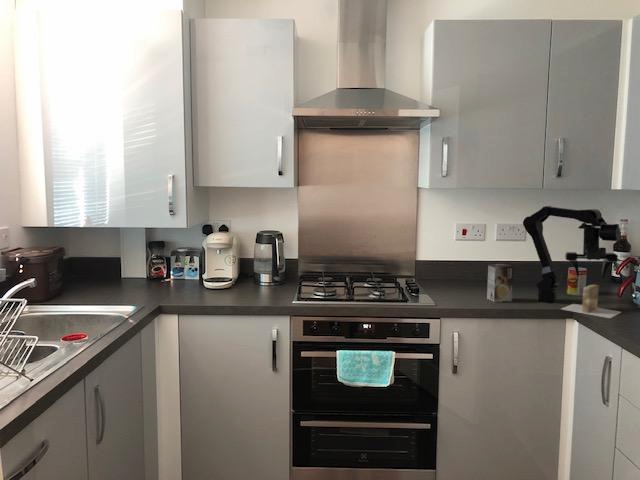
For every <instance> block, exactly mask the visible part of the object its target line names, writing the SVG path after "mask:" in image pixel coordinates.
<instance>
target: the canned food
mask: <svg viewBox="0 0 640 480" xmlns="http://www.w3.org/2000/svg"><path fill="white" fill-rule="evenodd" d="M587 270H588V269H587V268H586V267H585V268H583V267H578V271H579V277H577V274H576V271H575V268H574V266H573V267H571V266H569V267H568V270H567V271H568V272H567V273H568V274H567V286H566V294H567V295H572V296H583V288H584V287H587V286H586V285H587V275H588V274H587Z"/></svg>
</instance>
